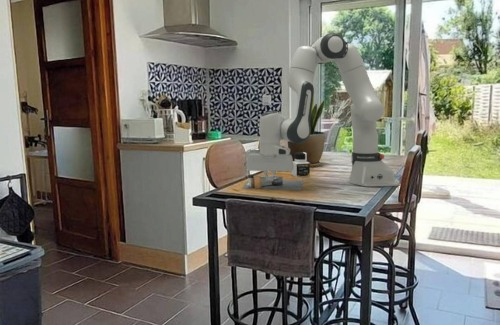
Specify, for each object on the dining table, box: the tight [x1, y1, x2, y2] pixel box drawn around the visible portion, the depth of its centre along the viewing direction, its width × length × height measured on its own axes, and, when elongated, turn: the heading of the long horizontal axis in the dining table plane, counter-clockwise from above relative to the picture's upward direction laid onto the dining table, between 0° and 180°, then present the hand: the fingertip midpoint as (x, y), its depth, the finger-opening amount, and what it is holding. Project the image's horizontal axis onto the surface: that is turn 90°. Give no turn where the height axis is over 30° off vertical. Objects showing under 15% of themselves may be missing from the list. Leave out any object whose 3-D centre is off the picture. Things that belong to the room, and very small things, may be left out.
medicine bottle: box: [291, 152, 311, 178], centre depth 216 cm, size 7×7×12 cm
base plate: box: [241, 175, 304, 191], centre depth 192 cm, size 26×20×6 cm
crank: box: [247, 174, 284, 187], centre depth 190 cm, size 16×6×5 cm, turn 114°
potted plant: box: [287, 97, 326, 168], centre depth 245 cm, size 21×22×40 cm
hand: (269, 181), depth 185 cm, fingers closed
